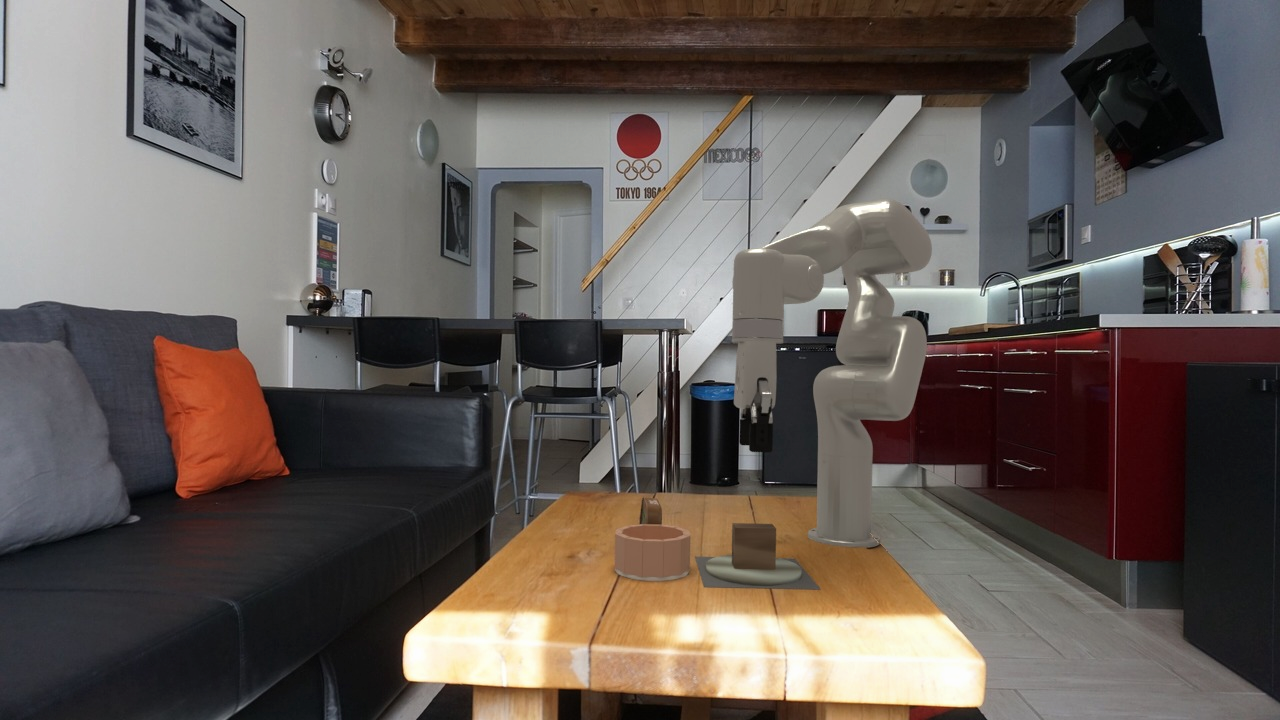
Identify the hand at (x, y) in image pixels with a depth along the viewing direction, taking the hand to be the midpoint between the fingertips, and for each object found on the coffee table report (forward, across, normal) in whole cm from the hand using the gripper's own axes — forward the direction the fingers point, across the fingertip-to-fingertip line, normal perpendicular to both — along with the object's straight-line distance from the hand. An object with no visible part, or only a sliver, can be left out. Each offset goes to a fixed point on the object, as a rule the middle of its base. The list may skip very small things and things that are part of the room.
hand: (755, 448), depth 105 cm
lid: (+18, 0, 0) cm, 18 cm away
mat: (+19, 0, 0) cm, 19 cm away
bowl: (+19, 0, -15) cm, 24 cm away
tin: (+19, -14, -15) cm, 28 cm away
